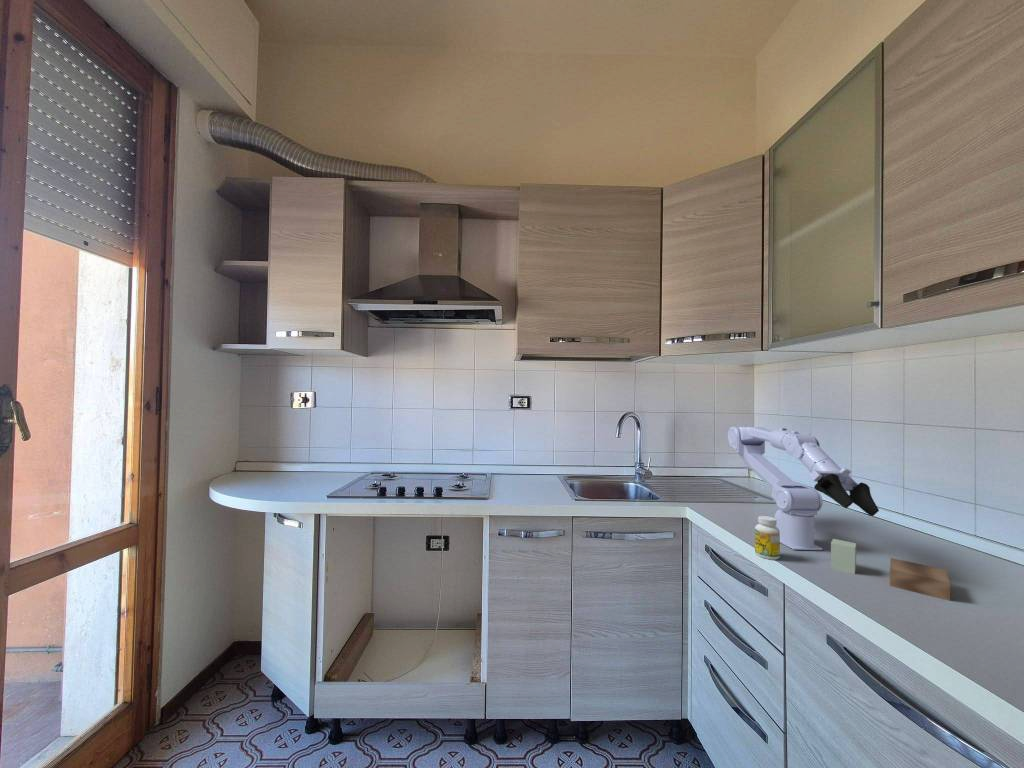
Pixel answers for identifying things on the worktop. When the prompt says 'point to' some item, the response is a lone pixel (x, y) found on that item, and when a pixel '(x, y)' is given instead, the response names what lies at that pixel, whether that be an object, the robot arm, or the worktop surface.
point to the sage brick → (843, 556)
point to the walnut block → (920, 578)
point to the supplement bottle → (767, 538)
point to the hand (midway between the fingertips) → (862, 509)
